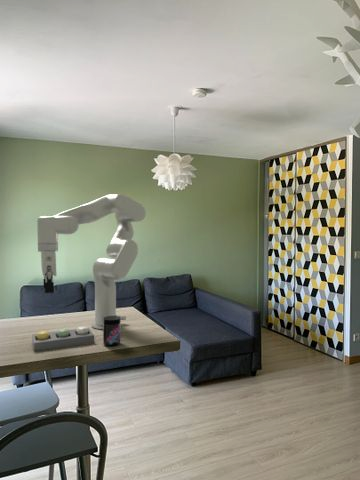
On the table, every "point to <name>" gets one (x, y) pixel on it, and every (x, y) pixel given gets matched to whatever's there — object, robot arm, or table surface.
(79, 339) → the button panel
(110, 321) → the supplement container
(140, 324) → the table surface
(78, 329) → the white button
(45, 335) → the mustard button
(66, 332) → the green button
